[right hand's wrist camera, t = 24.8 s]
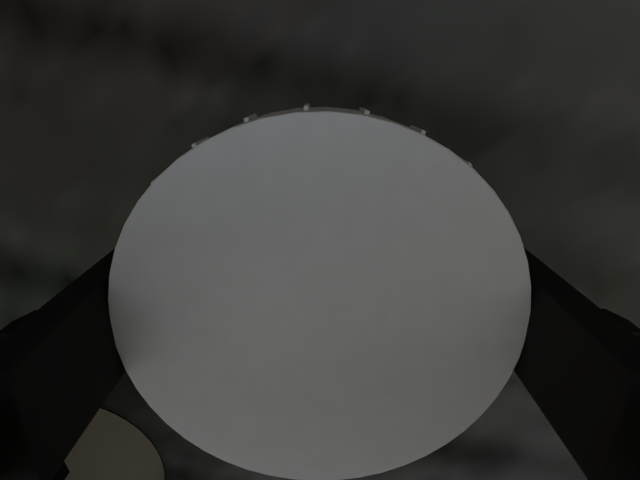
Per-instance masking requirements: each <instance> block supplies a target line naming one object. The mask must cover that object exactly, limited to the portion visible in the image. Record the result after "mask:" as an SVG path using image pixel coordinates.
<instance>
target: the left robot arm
mask: <svg viewBox="0 0 640 480" xmlns="http://www.w3.org/2000/svg"><path fill="white" fill-rule="evenodd" d="M69 473H70V471H69V469H68V467H67V465H66V464H65V462H63V463H62V465H61V466H60V468H59V469H58V471H57V472H56V474H55V475H54V477H53V478H52V480H65V479H66V477H67V476H68V474H69Z"/></svg>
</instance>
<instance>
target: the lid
mask: <svg viewBox="0 0 640 480" xmlns="http://www.w3.org/2000/svg"><path fill="white" fill-rule="evenodd" d="M425 133H426V131H424V130H422V129H420V128H417V127H415V126H413V125H410V127H407V126H404V125H402V124H399V123H397V122H394V121H392V120H389V119H387V118H384V117H382V116H378V115H374V114H370V111H368V110H367V109H365V108H361V107H360V109H359V111H358V110H352V109H343V108H333V107H310V104H305V105H304V107H303V108H295V109H289V110H283V111H278V112H272V113H268V114H265V115H262V116H259V117H257V115H256V114H253V115H250V116H248V117H246V118H244V122H242V123H240V124H238V125H236V126H234V127H232V128H230V129H227V130H225V131H223V132H221V133H219V134H217V135H215V136H213V137H211V138H209V137H206V138H204V139H202V140H200V141H197V142H195V143H194V144H192V145H191V146H192V147H193V148H192V149H191V150H190V151H188V152H187V153H185V154H184V155H182V156H181V157H179V158H178V159H177V160H176V161H174V162H173V163H172V164H171V165H170V166H169V167H168V168H167V169H166V170H165V171H164V172H162V173H161V174H160V175H159V176H158V177H157V178H156V179H154V180H153V181H152V182H151V185H150V186H149V188H148V189H147V190H146V191H145V193H144V194H143V195H142V196H141V198H140V199H139V200H138V202H137V203H136V205H135V207H134V209H133V210H132V212H131V214H130V215H129V217H128V219H127V221H126V222H125V224H124V226H123V229H122V232H121V234H120V237H119V239H118V242H117V245H116V247H115V250H114V255H113V260H112V264H111V269H110V274H109V290H108V305H109V315H110V320H111V326H112V330H113V335H114V339H115V344H116V348H117V350H118V353H119V355H120V358H121V360H122V363H123V365H124V368H125V370H126V371H127V373H128V375H129V377H130V378H131V380H132V382H133V384H134V385H135V387H136V389H137V390H138V391H139V393H140V394H141V395H142V397H143V398H144V399H145V401H146V402H147V403H148V405H149V406H150V407H151V408H152V409H153V410H154V411H155V412H156V413H157V414H158V415H159V416H160V418H161V419H162V420H163V421H164V422H165V423H166V424H167V425H169V426H170V427H171V428H172V429H174V430H175V431H176V432H177V433H179V434H180V435H181V436H182V437H183V438H185V439H186V440H188V441H189V442H191V443H193V444H194V445H196V446H197V447H199V448H200V449H202V450H203V451H205V452H207V453H209V454H211V455H213V456H215V457H217V458H219V459H221V460H223V461H226V462H228V463H231V464H233V465H236V466H239V467H241V468H244V469H247V470H251V471H254V472H258V473H262V474H265V475H270V476H276V477H282V478H288V479H297V480H342V479H351V478H359V477H364V476H369V475H373V474H378V473H382V472H385V471H388V470H392V469H395V468H398V467H401V466H404V465H406V464H409V463H411V462H413V461H415V460H418V459H420V458H422V457H424V456H426V455H428V454H430V453H432V452H433V451H435V450H437V449H439V448H440V447H442V446H444V445H446V444H447V443H448V442H450V441H451V440H453V439H454V438H455V437H457V436H458V435H459V434H461V433H462V432H464V431H465V430H466V429H467V428H468V427H469V426H470V425H471V424H472V423H474V422H475V421H476V420H477V419H478V418H479V417H480V416H481V415H482V414H483V413H484V412H485V411H486V409H487V408H488V407H489V406H490V405H491V404H492V402H493V401H494V400H495V399H496V398H497V396H498V395H499V393H500V392H501V390H502V389H503V387H504V386H505V384H506V383H507V381H508V380H509V378H510V376H511V374H512V372H513V370H514V368H515V366H516V364H517V361H518V359H519V357H520V354H521V351H522V348H523V345H524V341H525V337H526V332H527V327H528V322H529V317H530V312H531V281H530V274H529V266H528V260H527V257H526V254H525V250H524V247H523V244H522V240H521V237H520V235H519V233H518V230H517V228H516V226H515V224H514V222H513V220H512V218H511V216H510V214H509V212H508V210H507V209H506V207H505V206H504V204H503V203H502V202H501V200H500V199H499V197H498V196H497V194H496V193H495V191H494V190H493V189H492V188H491V187H490V186H489V184H488V183H487V182H486V181H485V180H484V179H483V178H482V177H481V176H480V175H479V174H478V173H477V172H476V171H475V170H474V168H472V167H471V166H472V164H471V163H470V162H468V161H466V160H464V159H462V158H460V157H458V156H457V155H456V154H455V153H453V152H452V151H451V150H450V149H448V148H446V147H444V146H443V145H441V144H439V143H437V142H436V141H434V140H432V139H430V138H429V137H427V136H425Z"/></svg>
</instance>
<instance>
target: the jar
mask: <svg viewBox="0 0 640 480" xmlns="http://www.w3.org/2000/svg"><path fill="white" fill-rule="evenodd" d="M64 462H65V464H66V465H67V467H68V469H69V471H70V473H69V474H68V476H67V477H66V479H65V480H165V475H164V467H163V464H162V461H161V458H160V456H159V454H158V452H157V450H156V449H155V447H154V446H153V444H152V443H151V442H150V440H149V439H148V438H147V437H146V436H145V435H144V434H143V433H142V432H141V431H140V430H139V429H137V428H136V427H135V426H133V425H132V424H131V423H129V422H128V421H126V420H125V419H123V418H121V417H119V416H118V415H116V414H113V413H111V412H109V411H107V410H104V409H101V408H100V409H99V410H98V412H97V413H96V415H95V416H94V418H93V419H92V421H91V422H90V424H89V425H88V427H87V428H86V430H85V431H84V432H83V434H82V435H81V437H80V438H79V440H78V441H77V443H76V444H75V446H74V447H73V449H72V450H71V452H70V453H69V455H68V456H67V457H66V459H65V460H64Z"/></svg>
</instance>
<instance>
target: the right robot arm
mask: <svg viewBox="0 0 640 480" xmlns="http://www.w3.org/2000/svg"><path fill="white" fill-rule="evenodd" d="M114 250H115V249H114ZM114 250H112V251H111V252H110V253H109V254H107V255H106V256H105V257H104V258H102V259H101V260H100V261H99V262H97V263H96V264H95V265H94V266H92V267H91V268H90V269H89V270H87V271H86V272H85V273H83V274H82V275H81V276H80V277H78V278H77V279H76V280H75V281H73V282H72V283H71V284H70V285H68V286H67V287H66V288H65V289H63V290H62V291H61V292H60V293H58V294H57V295H56V296H55V297H53V298H52V299H51V300H50V301H48V302H47V303H46V304H45V305H43V306H42V307H41V308H40V309H38V310H35V311H33V312H31V313H29V314H26V315H24V316H22V317H20V318H18V319H16V320H14V321H12V322H11V323H10V324H8V325H7V326H6V327H4V328H3V329H2V330H0V480H52V478H53V477H54V475H55V474H56V472H57V471H58V469H59V468H60V466H61V465H62V463H63V462H64V460H65V459H66V457H67V456H68V455H69V453H70V452H71V450H72V449H73V447H74V446H75V444H76V443H77V441H78V440H79V438H80V437H81V435H82V434H83V432H84V431H85V430H86V428H87V427H88V425H89V424H90V422H91V421H92V419H93V418H94V416H95V415H96V413H97V412H98V410H99V409H100V407H101V406H102V404H103V403H104V402H105V400H106V399H107V397H108V396H109V394H110V393H111V391H112V390H113V388H114V387H115V385H116V384H117V382H118V381H119V379H120V378H121V377H122V375H123V374H124V372H125V371H126V370H125V368H124V365H123V363H122V360H121V358H120V355H119V353H118V350H117V348H116V344H115V339H114V335H113V330H112V326H111V320H110V315H109V305H108V290H109V274H110V269H111V264H112V260H113V255H114ZM524 250H525V254H526V257H527V260H528V266H529V274H530V281H531V312H530V317H529V322H528V327H527V332H526V337H525V341H524V345H523V348H522V351H521V354H520V357H519V359H518V361H517V364H516V366H515V368H514V371H515V373H516V374H517V375H518V377H519V378H520V380H521V381H522V383H523V384H524V386H525V387H526V389H527V390H528V392H529V393H530V395H531V396H532V398H533V399H534V400H535V402H536V403H537V405H538V406H539V408H540V409H541V411H542V412H543V414H544V415H545V417H546V418H547V420H548V421H549V423H550V424H551V426H552V427H553V428H554V430H555V431H556V433H557V434H558V436H559V437H560V439H561V440H562V442H563V443H564V445H565V446H566V448H567V449H568V451H569V452H570V453H571V455H572V456H573V458H574V459H575V461H576V462H577V464H578V465H579V467H580V468H581V470H582V471H583V473H584V474H585V476H586V477H587V479H588V480H640V329H639V328H638V327H637V326H635V325H634V324H633V323H631V322H630V321H629V320H627V319H625V318H623V317H621V316H619V315H617V314H615V313H613V312H611V311H608V310H606V309H600V308H599V307H598V306H596V305H595V304H594V303H593V302H591V301H590V300H589V299H588V298H586V297H585V296H584V295H582V294H581V293H580V292H579V291H577V290H576V289H575V288H574V287H572V286H571V285H570V284H569V283H567V282H566V281H565V280H564V279H562V278H561V277H560V276H559V275H557V274H556V273H555V272H554V271H552V270H551V269H550V268H549V267H547V266H546V265H545V264H544V263H542V262H541V261H540V260H539V259H537V258H536V257H535V256H534V255H532V254H531V253H530V252H529V251H527V250H526V249H525V248H524Z"/></svg>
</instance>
